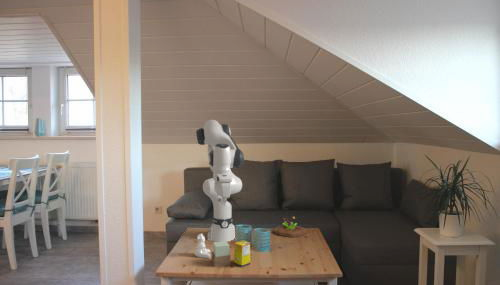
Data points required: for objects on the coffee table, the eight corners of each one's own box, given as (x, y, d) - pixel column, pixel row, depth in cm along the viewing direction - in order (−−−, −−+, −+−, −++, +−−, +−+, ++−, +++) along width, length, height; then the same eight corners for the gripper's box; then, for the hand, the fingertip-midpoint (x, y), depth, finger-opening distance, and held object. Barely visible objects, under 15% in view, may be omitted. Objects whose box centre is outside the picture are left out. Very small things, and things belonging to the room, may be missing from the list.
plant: (295, 239, 224) (296, 221, 223) (269, 233, 235) (269, 216, 235) (310, 231, 240) (310, 215, 239) (285, 226, 251) (285, 211, 251)
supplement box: (242, 260, 185) (242, 239, 185) (250, 264, 181) (250, 242, 181) (233, 263, 181) (233, 242, 181) (241, 267, 177) (242, 245, 176)
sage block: (213, 252, 184) (213, 242, 184) (226, 250, 186) (226, 241, 186) (215, 256, 177) (215, 246, 177) (229, 255, 179) (229, 245, 179)
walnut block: (211, 261, 185) (211, 251, 184) (226, 259, 187) (226, 250, 187) (214, 267, 177) (214, 257, 177) (230, 265, 179) (230, 255, 179)
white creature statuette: (210, 258, 188) (210, 236, 187) (193, 259, 187) (194, 236, 186) (210, 252, 197) (210, 230, 197) (194, 253, 196) (194, 231, 196)
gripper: (211, 173, 189) (211, 199, 190) (220, 179, 170) (219, 208, 170) (223, 173, 191) (222, 199, 192) (233, 179, 171) (232, 207, 172)
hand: (221, 203), depth 181 cm, fingers open, 8 cm apart
